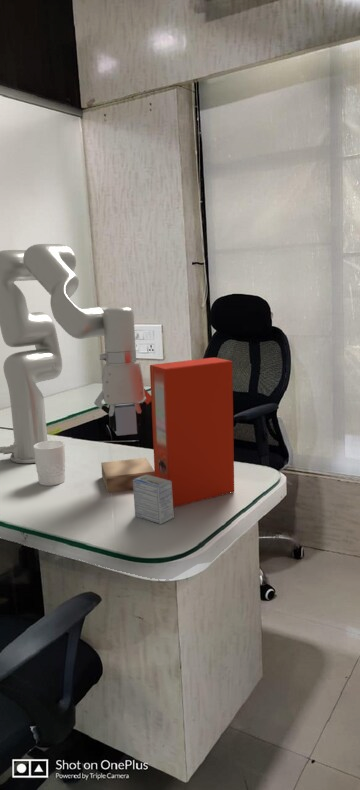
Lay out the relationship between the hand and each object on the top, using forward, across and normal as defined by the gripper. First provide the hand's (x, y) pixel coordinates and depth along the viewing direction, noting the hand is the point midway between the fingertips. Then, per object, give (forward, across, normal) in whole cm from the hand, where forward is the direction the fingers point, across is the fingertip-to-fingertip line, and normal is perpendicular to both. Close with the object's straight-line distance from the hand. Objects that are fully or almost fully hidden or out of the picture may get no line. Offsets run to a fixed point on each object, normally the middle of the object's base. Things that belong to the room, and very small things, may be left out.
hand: (125, 428), depth 154 cm
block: (+1, 0, 0) cm, 1 cm away
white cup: (+14, -19, +7) cm, 25 cm away
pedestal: (+14, 0, 0) cm, 14 cm away
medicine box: (+15, +2, -25) cm, 29 cm away
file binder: (+15, +14, -15) cm, 25 cm away
